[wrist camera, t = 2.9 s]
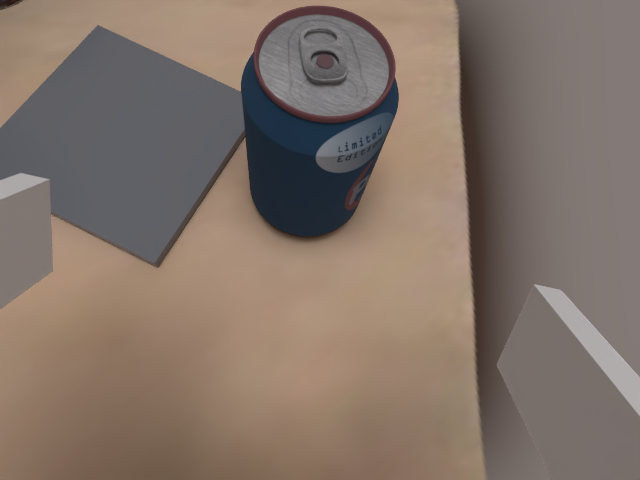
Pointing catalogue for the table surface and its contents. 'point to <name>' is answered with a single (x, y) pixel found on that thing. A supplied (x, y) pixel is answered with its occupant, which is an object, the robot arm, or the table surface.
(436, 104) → the table surface
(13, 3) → the flask
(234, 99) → the plate
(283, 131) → the soda can
